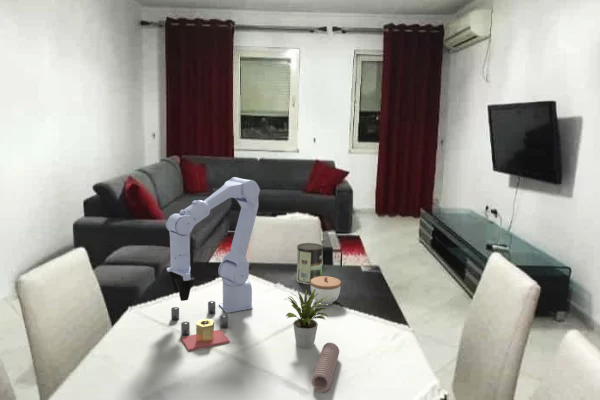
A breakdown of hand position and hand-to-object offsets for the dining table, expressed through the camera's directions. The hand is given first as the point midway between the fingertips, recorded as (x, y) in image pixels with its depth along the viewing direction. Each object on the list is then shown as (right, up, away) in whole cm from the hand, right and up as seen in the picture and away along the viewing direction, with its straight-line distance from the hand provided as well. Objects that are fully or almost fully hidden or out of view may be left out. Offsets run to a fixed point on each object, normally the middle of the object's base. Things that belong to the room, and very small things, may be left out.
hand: (180, 295), depth 147 cm
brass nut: (+9, -11, -9) cm, 17 cm away
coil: (+43, -15, -24) cm, 52 cm away
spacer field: (+5, -9, +3) cm, 11 cm away
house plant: (+37, -12, -10) cm, 41 cm away
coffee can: (+40, -3, +44) cm, 60 cm away
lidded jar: (+46, -7, +22) cm, 51 cm away
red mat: (+9, -11, -9) cm, 17 cm away
